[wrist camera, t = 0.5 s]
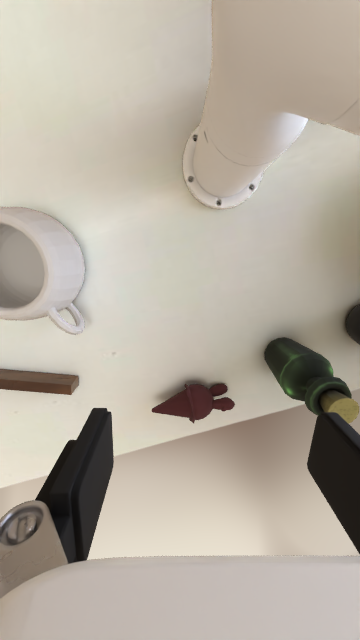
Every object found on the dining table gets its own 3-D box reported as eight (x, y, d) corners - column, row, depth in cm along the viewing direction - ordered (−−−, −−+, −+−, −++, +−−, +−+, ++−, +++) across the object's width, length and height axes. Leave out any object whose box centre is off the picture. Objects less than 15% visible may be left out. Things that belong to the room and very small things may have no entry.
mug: (-34, 253, 41) (-98, 254, 31) (39, 188, 39) (-6, 166, 29) (57, 349, 46) (26, 375, 36) (127, 296, 43) (114, 308, 34)
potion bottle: (256, 371, 48) (303, 439, 31) (263, 331, 46) (317, 380, 28) (297, 373, 48) (367, 441, 31) (305, 334, 46) (385, 383, 29)
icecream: (156, 440, 44) (237, 423, 45) (148, 412, 40) (237, 394, 41) (154, 409, 50) (225, 395, 51) (147, 382, 46) (224, 367, 47)
